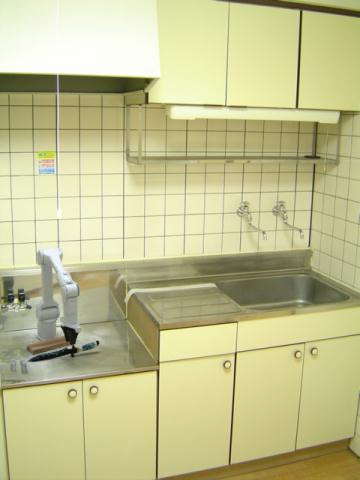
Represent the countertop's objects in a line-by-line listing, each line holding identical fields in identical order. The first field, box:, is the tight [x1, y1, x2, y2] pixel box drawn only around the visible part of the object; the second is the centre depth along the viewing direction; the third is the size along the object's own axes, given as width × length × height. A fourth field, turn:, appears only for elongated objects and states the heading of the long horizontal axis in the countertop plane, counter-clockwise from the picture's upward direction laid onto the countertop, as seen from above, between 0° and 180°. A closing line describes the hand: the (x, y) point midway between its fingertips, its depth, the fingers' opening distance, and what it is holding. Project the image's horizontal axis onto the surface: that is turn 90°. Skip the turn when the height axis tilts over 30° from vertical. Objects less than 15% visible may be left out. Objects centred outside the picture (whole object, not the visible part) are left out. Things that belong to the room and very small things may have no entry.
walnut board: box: [26, 335, 71, 356], centre depth 240 cm, size 7×20×2 cm, turn 129°
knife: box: [28, 340, 101, 363], centre depth 230 cm, size 30×3×4 cm, turn 110°
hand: (70, 343), depth 224 cm, fingers open, 3 cm apart
